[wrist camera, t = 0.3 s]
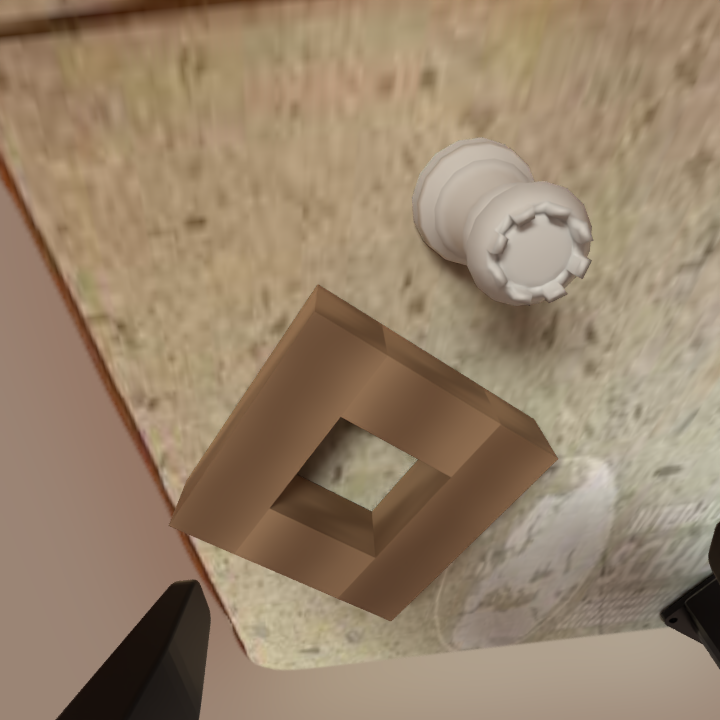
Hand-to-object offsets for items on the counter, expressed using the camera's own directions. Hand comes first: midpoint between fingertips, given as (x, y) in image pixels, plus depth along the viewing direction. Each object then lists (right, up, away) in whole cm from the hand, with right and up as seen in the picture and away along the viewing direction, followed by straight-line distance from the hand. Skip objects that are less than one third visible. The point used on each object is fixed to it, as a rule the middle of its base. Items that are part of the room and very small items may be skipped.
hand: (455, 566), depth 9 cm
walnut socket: (-2, -1, +16) cm, 16 cm away
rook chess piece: (+2, +10, +11) cm, 15 cm away
